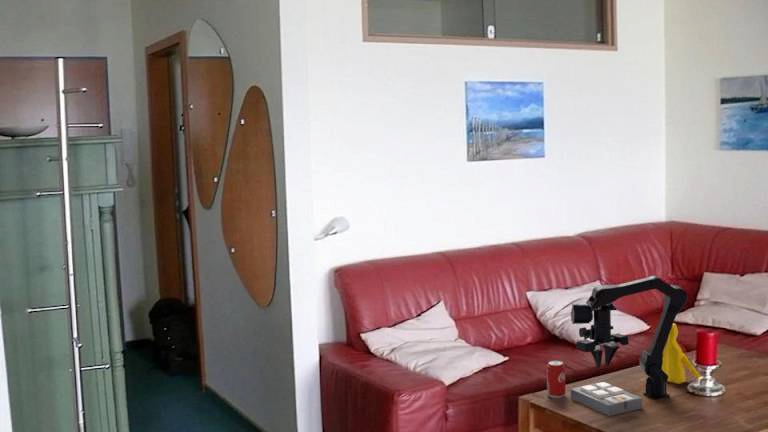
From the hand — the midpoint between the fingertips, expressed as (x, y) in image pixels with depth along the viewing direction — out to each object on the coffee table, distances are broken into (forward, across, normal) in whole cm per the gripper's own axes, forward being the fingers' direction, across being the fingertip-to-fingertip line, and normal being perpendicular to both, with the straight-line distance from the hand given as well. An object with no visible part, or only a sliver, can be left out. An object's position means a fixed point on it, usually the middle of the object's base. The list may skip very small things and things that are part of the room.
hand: (602, 366), depth 288 cm
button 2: (+9, +6, +6) cm, 12 cm away
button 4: (+9, 0, +6) cm, 11 cm away
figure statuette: (+11, -32, 0) cm, 34 cm away
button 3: (+9, 0, 0) cm, 9 cm away
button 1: (+9, +6, 0) cm, 11 cm away
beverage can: (+11, +12, -10) cm, 20 cm away
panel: (+11, +3, +5) cm, 12 cm away
